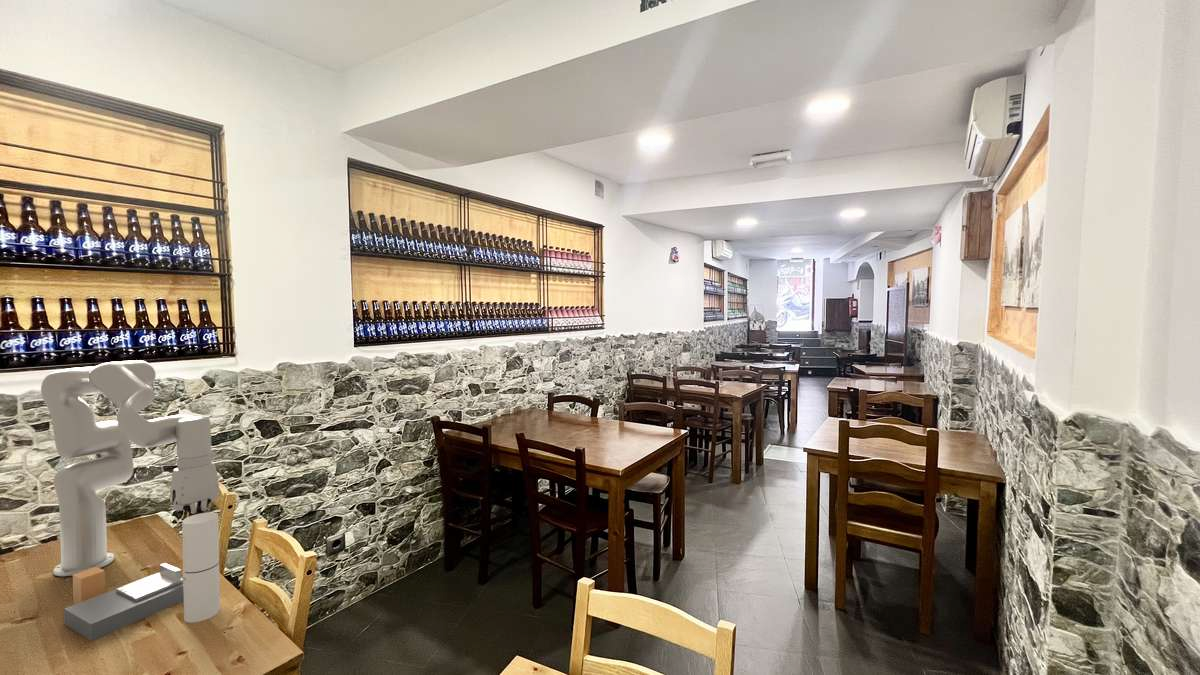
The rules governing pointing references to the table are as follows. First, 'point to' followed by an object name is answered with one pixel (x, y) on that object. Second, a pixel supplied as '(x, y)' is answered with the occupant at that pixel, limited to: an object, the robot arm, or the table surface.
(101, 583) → the plug peg
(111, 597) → the socket block
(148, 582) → the panel
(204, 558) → the cylindrical container
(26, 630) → the table surface
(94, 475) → the robot arm
